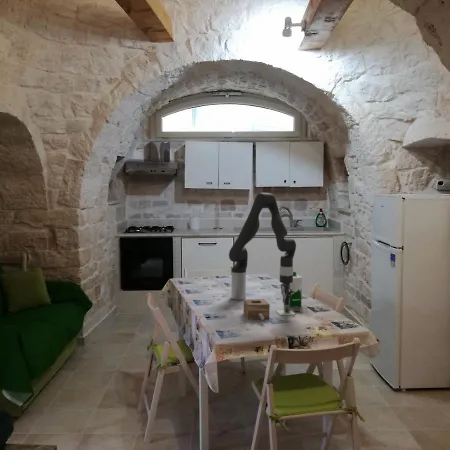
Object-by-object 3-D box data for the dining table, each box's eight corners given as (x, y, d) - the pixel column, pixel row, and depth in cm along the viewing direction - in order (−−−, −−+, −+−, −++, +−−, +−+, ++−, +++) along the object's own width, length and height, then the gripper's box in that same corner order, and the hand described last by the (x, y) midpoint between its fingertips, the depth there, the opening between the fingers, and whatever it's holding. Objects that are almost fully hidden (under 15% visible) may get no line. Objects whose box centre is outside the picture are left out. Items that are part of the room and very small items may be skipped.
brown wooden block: (243, 313, 265) (243, 299, 264) (263, 312, 267) (264, 298, 266) (251, 324, 244) (251, 309, 243) (273, 323, 246) (273, 308, 245)
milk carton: (297, 303, 288) (297, 271, 287) (303, 306, 280) (304, 274, 278) (284, 303, 286) (284, 271, 284) (290, 307, 277) (290, 274, 276)
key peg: (281, 310, 267) (280, 288, 266) (289, 309, 269) (287, 286, 267) (285, 312, 263) (283, 289, 261) (292, 311, 264) (291, 288, 263)
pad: (275, 311, 269) (275, 310, 269) (290, 310, 271) (290, 309, 271) (280, 315, 260) (280, 314, 260) (295, 315, 262) (295, 314, 262)
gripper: (276, 271, 270) (276, 300, 271) (283, 276, 256) (283, 307, 258) (288, 271, 271) (288, 300, 273) (296, 276, 257) (296, 306, 259)
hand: (285, 303), depth 265 cm, fingers closed on key peg, 3 cm apart
